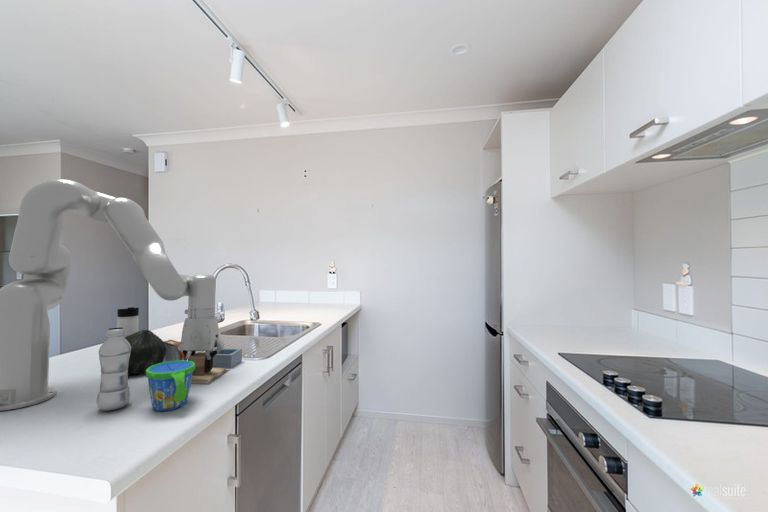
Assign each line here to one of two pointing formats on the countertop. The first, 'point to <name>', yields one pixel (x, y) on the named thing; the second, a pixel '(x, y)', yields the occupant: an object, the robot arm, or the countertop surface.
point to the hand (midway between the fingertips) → (200, 370)
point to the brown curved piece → (173, 351)
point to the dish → (227, 358)
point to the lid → (203, 369)
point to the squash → (144, 351)
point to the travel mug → (128, 320)
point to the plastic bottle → (114, 370)
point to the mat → (213, 379)
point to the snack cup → (169, 384)
